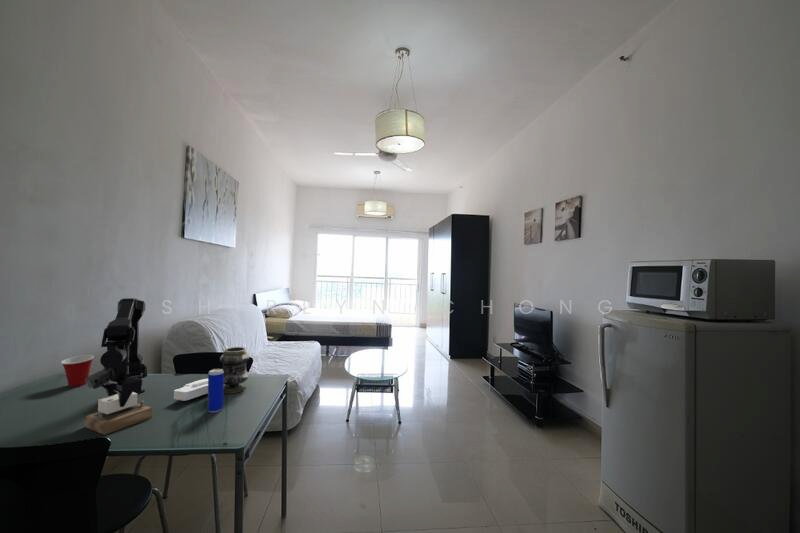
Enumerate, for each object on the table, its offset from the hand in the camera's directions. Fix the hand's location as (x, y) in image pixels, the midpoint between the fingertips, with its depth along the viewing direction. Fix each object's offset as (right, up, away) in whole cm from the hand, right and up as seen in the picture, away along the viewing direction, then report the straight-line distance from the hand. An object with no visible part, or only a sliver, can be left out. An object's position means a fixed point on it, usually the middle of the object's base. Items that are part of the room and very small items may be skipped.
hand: (117, 405), depth 119 cm
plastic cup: (-46, -5, +33) cm, 57 cm away
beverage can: (+28, -6, +11) cm, 31 cm away
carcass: (+1, -6, -1) cm, 6 cm away
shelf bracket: (+9, -3, +28) cm, 30 cm away
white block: (0, -1, 0) cm, 1 cm away
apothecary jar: (+25, -6, +32) cm, 41 cm away
